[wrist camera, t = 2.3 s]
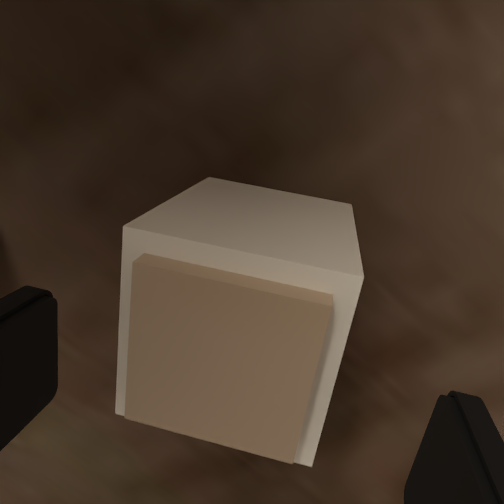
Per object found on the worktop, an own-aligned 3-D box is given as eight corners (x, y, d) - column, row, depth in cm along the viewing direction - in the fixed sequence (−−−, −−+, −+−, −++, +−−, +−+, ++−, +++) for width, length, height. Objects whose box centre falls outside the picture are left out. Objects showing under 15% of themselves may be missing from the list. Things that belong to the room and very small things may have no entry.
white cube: (209, 176, 16) (109, 233, 9) (351, 204, 15) (366, 288, 8) (194, 302, 18) (103, 429, 11) (320, 330, 17) (310, 486, 10)
